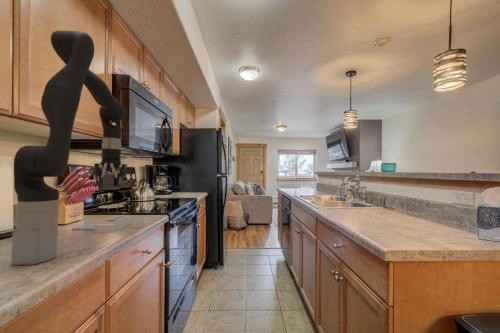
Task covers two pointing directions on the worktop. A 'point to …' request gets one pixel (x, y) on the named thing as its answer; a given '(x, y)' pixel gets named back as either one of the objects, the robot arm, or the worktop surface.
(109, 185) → the charger
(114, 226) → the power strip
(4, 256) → the worktop surface
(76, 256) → the worktop surface
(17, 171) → the robot arm
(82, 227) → the trivet
